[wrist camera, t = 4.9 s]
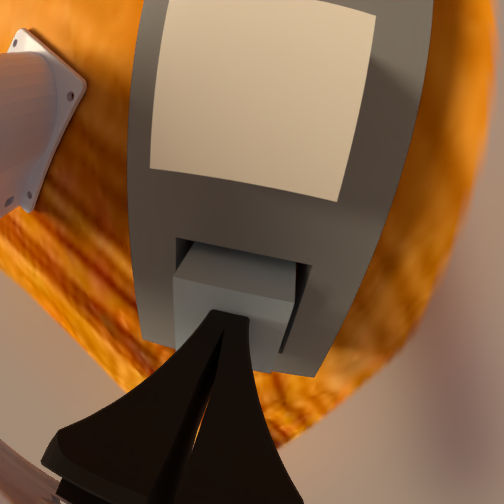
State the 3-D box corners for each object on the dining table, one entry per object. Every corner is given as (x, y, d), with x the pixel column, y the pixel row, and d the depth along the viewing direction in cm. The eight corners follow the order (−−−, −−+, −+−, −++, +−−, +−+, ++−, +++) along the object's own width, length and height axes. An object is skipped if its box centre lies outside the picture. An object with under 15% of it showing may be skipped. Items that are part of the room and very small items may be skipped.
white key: (320, 157, 9) (336, 201, 6) (207, 137, 10) (149, 168, 6) (342, 49, 7) (376, 16, 4) (222, 31, 7) (170, -8, 4)
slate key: (278, 304, 15) (270, 373, 11) (203, 289, 15) (175, 351, 11) (296, 237, 13) (294, 302, 9) (208, 220, 13) (172, 276, 9)
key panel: (313, 335, 16) (314, 377, 13) (162, 303, 16) (142, 339, 14) (407, -84, 3) (425, -109, 1) (215, -111, 4) (198, -140, 1)
